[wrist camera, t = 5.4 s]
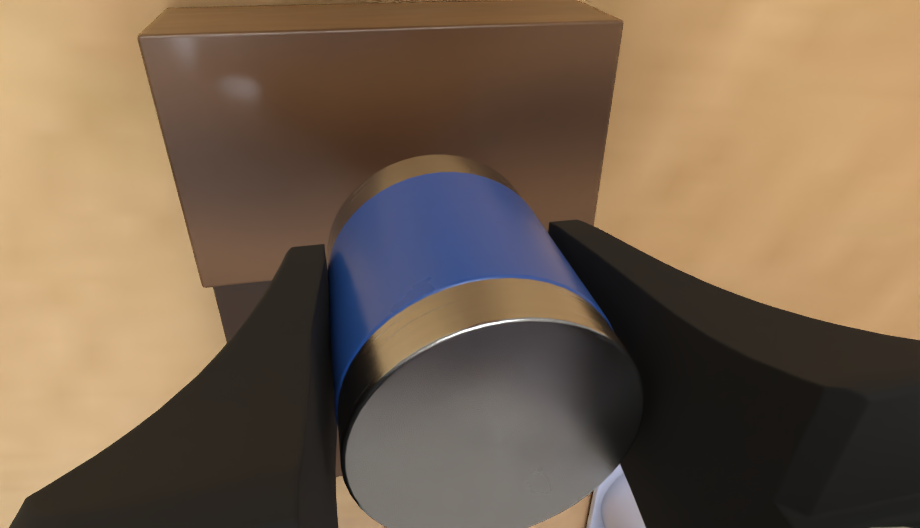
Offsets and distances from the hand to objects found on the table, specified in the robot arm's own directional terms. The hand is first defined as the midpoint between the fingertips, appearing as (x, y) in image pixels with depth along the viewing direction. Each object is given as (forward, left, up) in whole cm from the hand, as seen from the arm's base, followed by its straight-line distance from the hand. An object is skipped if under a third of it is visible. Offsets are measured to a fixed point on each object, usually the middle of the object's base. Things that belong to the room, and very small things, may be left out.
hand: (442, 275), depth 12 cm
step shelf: (-6, 0, -9) cm, 11 cm away
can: (0, 0, -1) cm, 1 cm away
